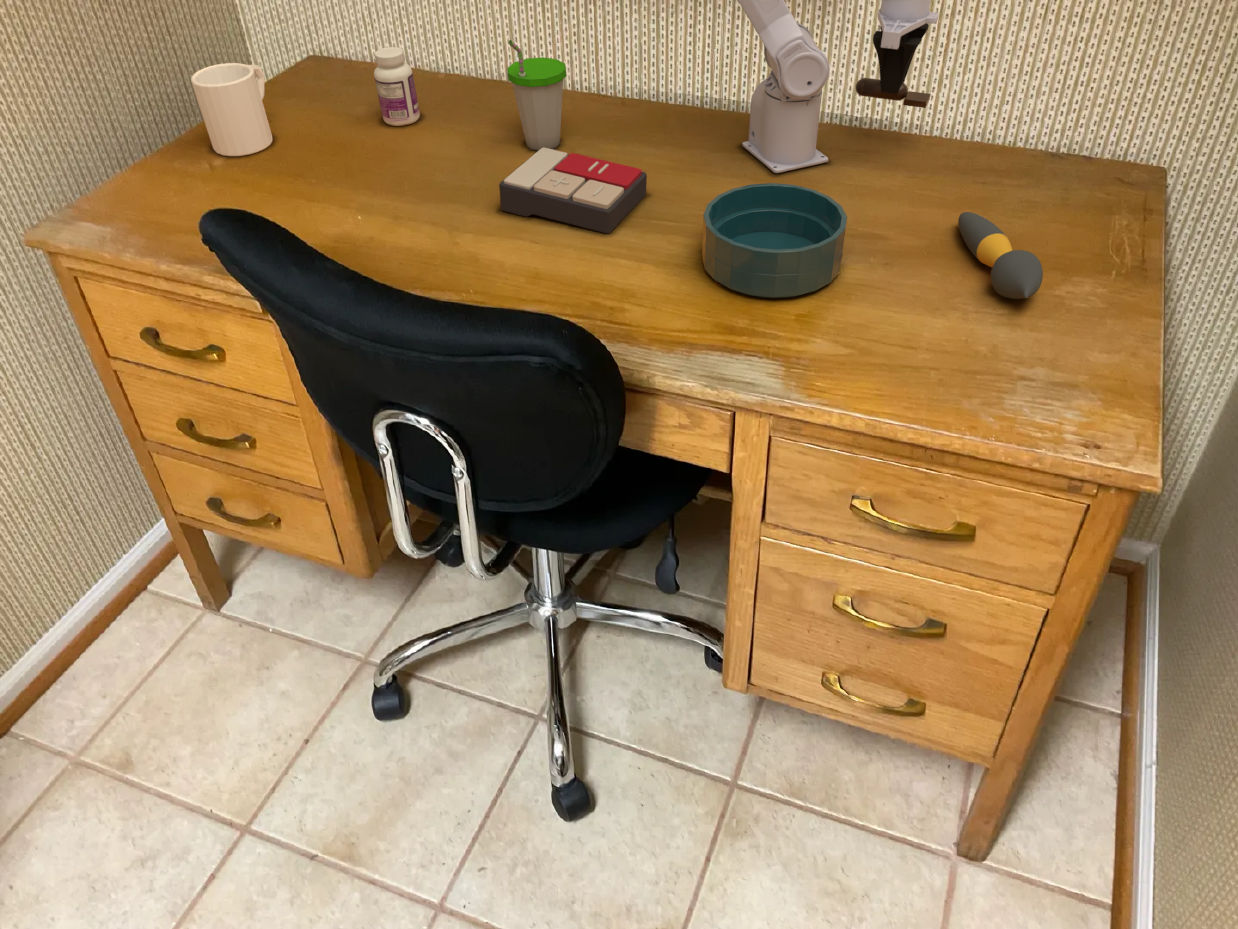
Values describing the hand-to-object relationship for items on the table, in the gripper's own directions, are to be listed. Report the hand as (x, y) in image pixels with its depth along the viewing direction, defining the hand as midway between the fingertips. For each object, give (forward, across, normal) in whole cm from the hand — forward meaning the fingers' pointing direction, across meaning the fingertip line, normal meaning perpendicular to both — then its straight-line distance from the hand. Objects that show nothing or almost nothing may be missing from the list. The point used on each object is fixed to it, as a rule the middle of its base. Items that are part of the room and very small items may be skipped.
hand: (891, 88), depth 123 cm
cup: (+9, -13, +44) cm, 46 cm away
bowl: (+8, -33, +5) cm, 34 cm away
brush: (+1, 0, 0) cm, 1 cm away
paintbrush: (+8, -26, -17) cm, 32 cm away
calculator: (+9, -27, +32) cm, 43 cm away
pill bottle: (+9, -13, +67) cm, 69 cm away
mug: (+9, -26, +84) cm, 88 cm away
